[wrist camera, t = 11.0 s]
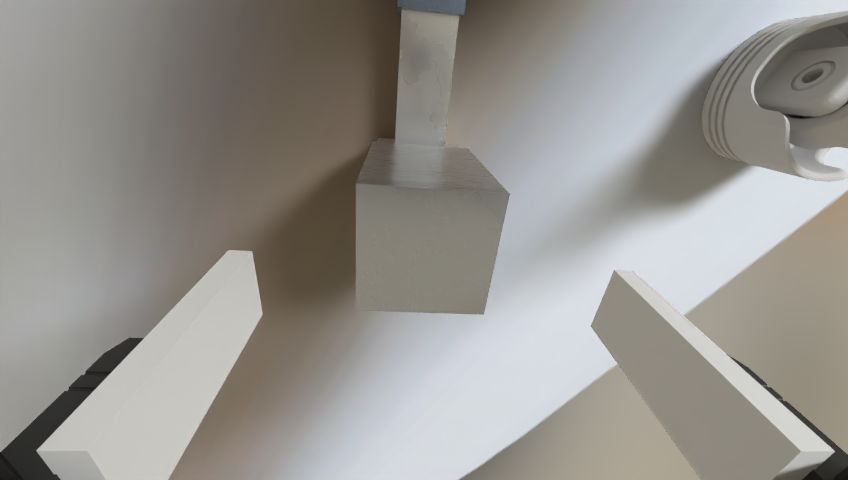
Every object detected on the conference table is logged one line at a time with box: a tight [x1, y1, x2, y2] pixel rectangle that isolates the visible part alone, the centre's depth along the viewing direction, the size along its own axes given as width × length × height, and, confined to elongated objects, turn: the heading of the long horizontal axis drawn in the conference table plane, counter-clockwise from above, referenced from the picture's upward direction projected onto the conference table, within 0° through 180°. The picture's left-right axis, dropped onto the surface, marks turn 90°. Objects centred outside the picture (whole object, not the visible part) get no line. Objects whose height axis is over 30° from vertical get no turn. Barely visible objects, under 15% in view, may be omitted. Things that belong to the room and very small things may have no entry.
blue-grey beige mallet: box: [378, 0, 466, 148], centre depth 20 cm, size 24×6×8 cm, turn 175°
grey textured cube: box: [356, 141, 510, 314], centre depth 20 cm, size 7×7×10 cm
